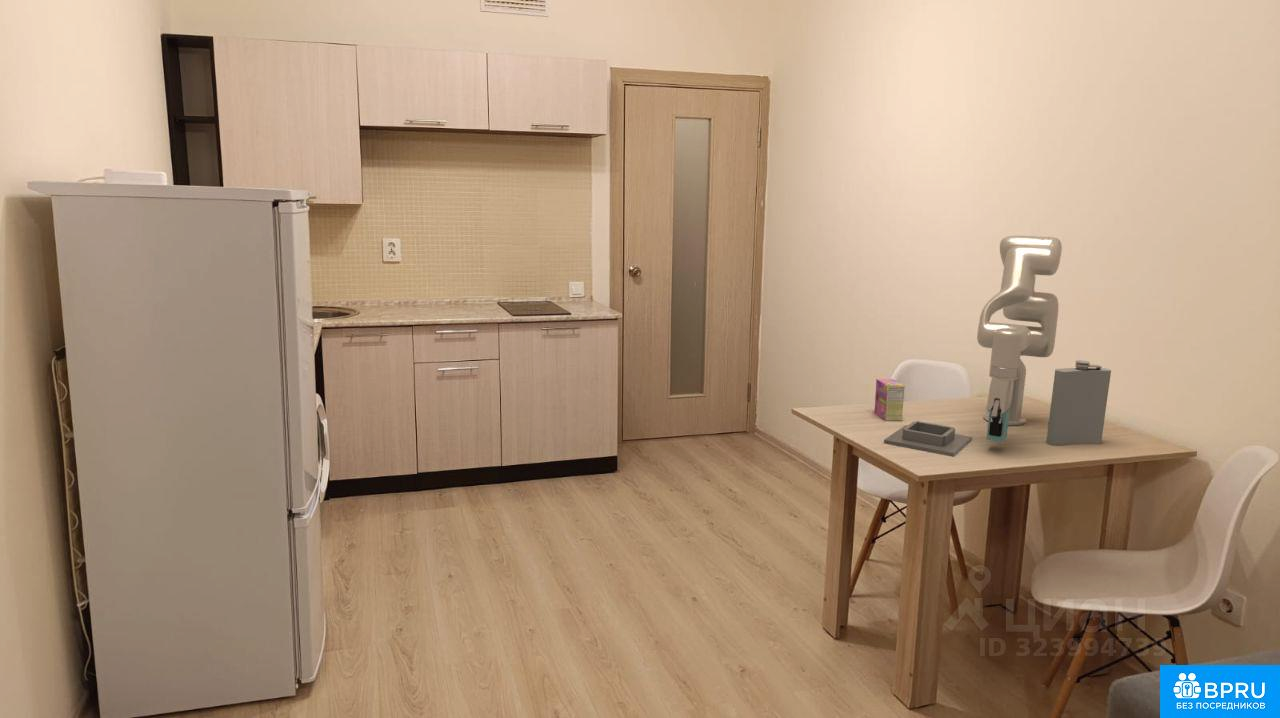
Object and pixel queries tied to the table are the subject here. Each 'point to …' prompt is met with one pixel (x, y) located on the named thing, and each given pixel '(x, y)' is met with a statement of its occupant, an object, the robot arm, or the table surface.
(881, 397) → the box
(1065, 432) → the flask
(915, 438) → the well
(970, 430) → the table surface
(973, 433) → the table surface
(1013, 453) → the table surface
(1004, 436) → the block
